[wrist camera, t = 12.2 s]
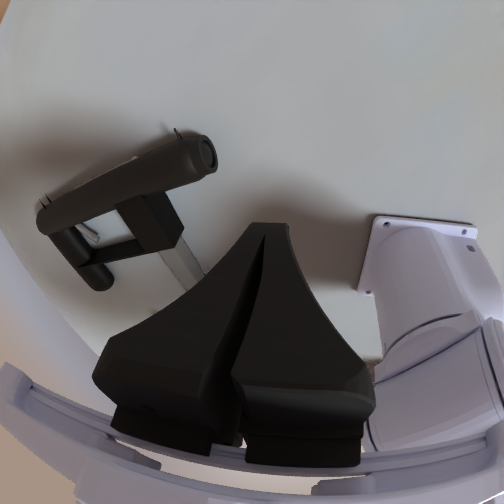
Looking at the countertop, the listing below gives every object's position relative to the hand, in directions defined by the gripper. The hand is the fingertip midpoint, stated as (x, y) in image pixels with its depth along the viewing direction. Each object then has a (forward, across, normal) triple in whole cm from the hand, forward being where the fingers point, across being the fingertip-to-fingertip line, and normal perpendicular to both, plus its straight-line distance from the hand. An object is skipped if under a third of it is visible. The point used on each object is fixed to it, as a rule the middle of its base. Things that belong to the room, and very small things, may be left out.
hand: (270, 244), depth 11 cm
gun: (+10, +13, +7) cm, 18 cm away
